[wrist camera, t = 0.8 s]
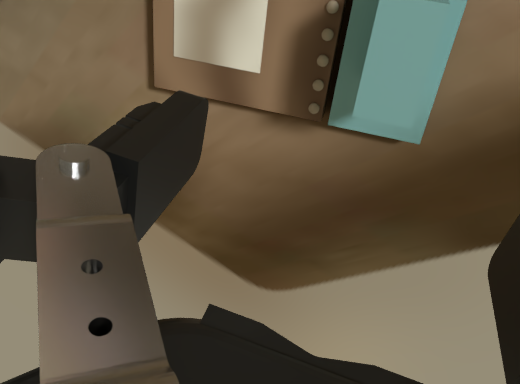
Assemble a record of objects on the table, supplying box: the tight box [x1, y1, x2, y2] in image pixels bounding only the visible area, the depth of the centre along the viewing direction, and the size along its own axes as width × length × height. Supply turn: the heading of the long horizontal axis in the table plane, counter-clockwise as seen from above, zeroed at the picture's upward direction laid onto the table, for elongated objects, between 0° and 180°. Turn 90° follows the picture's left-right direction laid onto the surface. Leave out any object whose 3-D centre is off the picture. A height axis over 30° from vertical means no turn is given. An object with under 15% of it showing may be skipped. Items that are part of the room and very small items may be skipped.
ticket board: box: [153, 0, 347, 122], centre depth 30 cm, size 12×13×2 cm
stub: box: [328, 0, 467, 144], centre depth 26 cm, size 6×13×8 cm, turn 174°
